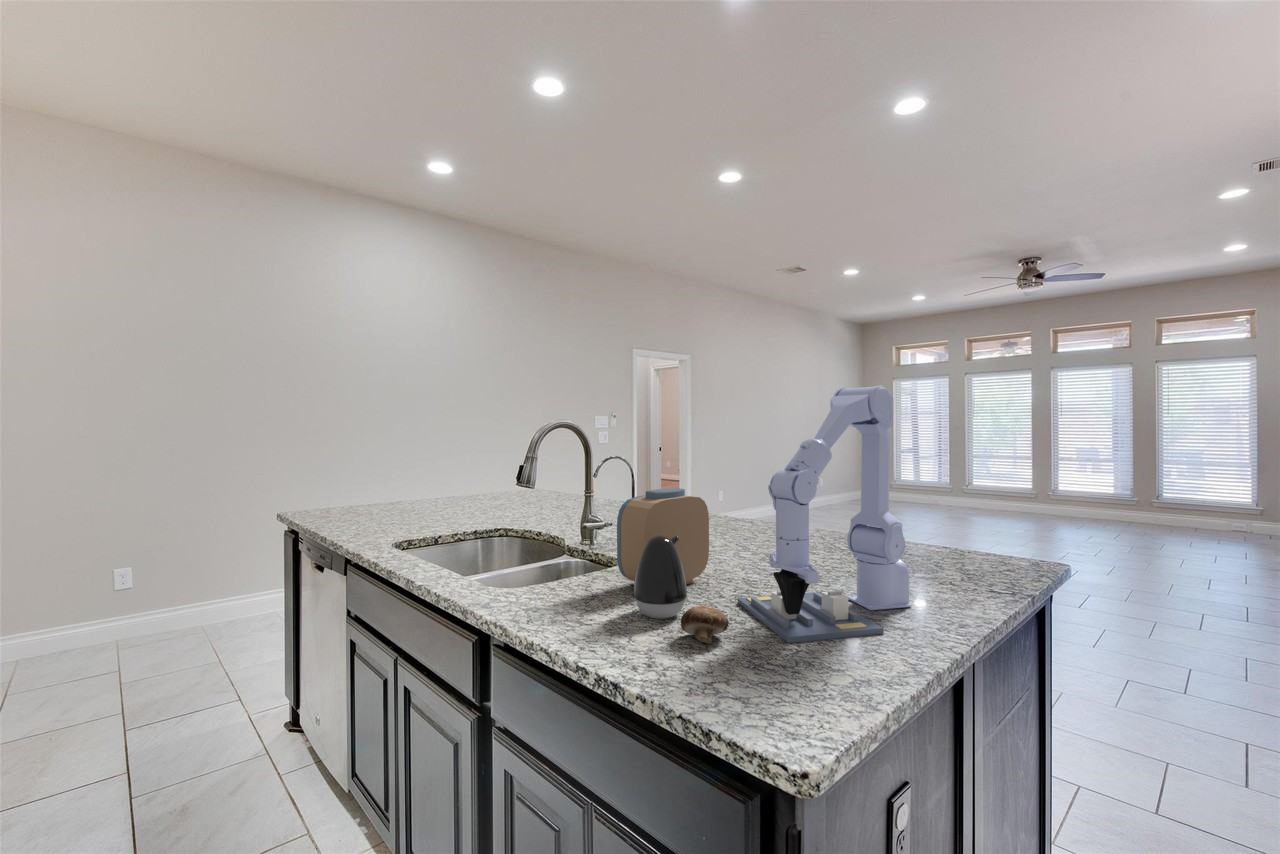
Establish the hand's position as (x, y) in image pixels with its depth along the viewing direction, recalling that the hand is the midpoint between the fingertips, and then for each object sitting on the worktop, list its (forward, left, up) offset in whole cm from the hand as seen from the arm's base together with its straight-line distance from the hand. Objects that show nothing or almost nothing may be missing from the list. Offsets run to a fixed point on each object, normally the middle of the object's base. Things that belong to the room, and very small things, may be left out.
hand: (792, 613), depth 103 cm
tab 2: (-9, -1, -2) cm, 9 cm away
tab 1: (0, -3, -2) cm, 4 cm away
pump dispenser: (+21, -13, -3) cm, 25 cm away
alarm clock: (+15, -33, -3) cm, 36 cm away
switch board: (-5, -5, -3) cm, 7 cm away
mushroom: (+17, +1, -3) cm, 17 cm away
